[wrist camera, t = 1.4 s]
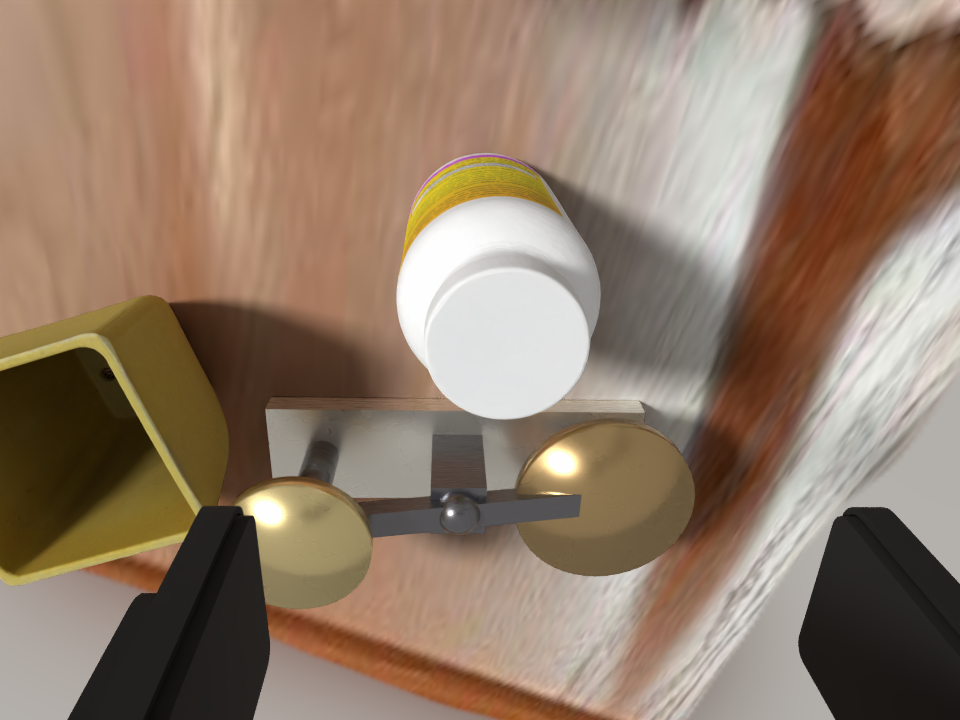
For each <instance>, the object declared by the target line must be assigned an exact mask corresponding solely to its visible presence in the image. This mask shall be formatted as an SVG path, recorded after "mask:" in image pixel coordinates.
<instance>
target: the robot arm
mask: <svg viewBox="0 0 960 720" xmlns="http://www.w3.org/2000/svg"><path fill="white" fill-rule="evenodd" d="M798 643H799V645H798V646H799V653H800V656H801V659H802V661H803V663H804V665H805V667H806V668H807V670H808V672H809V674H810V676H811V677H812V679H813V681H814V683H815V684H816V686H817V688H818V690H819V691H820V693H821V695H822V697H823V698H824V700H825V702H826V704H827V705H828V707H829V709H830V711H831V713H832V714H833V716H834V718H835V720H960V584H959V583H958V582H957V580H956V579H955V578H954V577H953V576H952V575H951V574H950V573H949V572H948V571H947V570H946V569H945V568H944V567H943V565H941V563H940V562H939V561H938V560H937V559H936V558H935V557H934V556H933V555H932V554H931V553H930V551H929V550H928V549H927V548H926V547H925V546H924V545H923V544H922V543H921V542H920V541H919V540H918V538H917V537H916V536H915V535H914V534H913V533H912V532H911V531H910V530H909V529H908V528H907V527H906V525H905V524H904V523H903V522H902V521H901V520H900V519H899V518H898V517H897V516H896V515H895V514H894V513H893V512H892V511H891V510H889V509H888V508H884V507H851V508H848V509H847V510H846V511H845V512H844V513H843V516H840V517H837V518H836V519H835V520H834V522H833V525H832V528H831V532H830V535H829V538H828V542H827V545H826V548H825V552H824V555H823V558H822V562H821V565H820V568H819V572H818V575H817V578H816V582H815V585H814V588H813V592H812V595H811V598H810V602H809V605H808V609H807V612H806V615H805V618H804V622H803V625H802V628H801V632H800V635H799V641H798ZM269 655H270V638H269V630H268V621H267V613H266V605H265V596H264V588H263V580H262V571H261V563H260V555H259V546H258V538H257V530H256V522H255V518H254V516H252V515H244V514H243V510H242V508H241V507H240V506H203V507H201V509H200V510H199V512H198V514H197V516H196V517H195V519H194V521H193V523H192V525H191V527H190V529H189V531H188V533H187V535H186V537H185V539H184V541H183V543H182V545H181V547H180V549H179V551H178V553H177V555H176V556H175V558H174V560H173V562H172V564H171V566H170V568H169V570H168V572H167V574H166V576H165V578H164V580H163V582H162V584H161V586H160V588H159V590H158V592H157V593H141V594H140V595H138V596H137V597H136V598H135V599H134V600H133V602H132V603H131V605H130V607H129V608H128V610H127V612H126V614H125V615H124V617H123V619H122V621H121V623H120V625H119V627H118V628H117V630H116V632H115V634H114V636H113V637H112V639H111V641H110V643H109V645H108V646H107V648H106V650H105V652H104V654H103V656H102V657H101V659H100V661H99V663H98V665H97V667H96V668H95V670H94V672H93V674H92V676H91V678H90V679H89V681H88V683H87V685H86V687H85V688H84V690H83V692H82V694H81V696H80V698H79V700H78V701H77V703H76V705H75V707H74V709H73V711H72V712H71V714H70V716H69V718H68V720H253V717H254V714H255V710H256V706H257V703H258V699H259V696H260V692H261V689H262V685H263V681H264V678H265V674H266V670H267V667H268V662H269Z"/></svg>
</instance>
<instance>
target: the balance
mask: <svg viewBox="0 0 960 720" xmlns="http://www.w3.org/2000/svg"><path fill="white" fill-rule="evenodd" d="M265 411H266V421H267V430H268V440H269V449H270V459H271V468H272V479H268V480H265V481H262V482H259V483H257V484H255V485H253V486H251V487H249V488H248V489H246V490H245V491H244V492H242V493H241V494H240V495H239V496H238V497H237V498H236V499H235V500H234V501H233V502H232V504H231V505H230V506H240V507H241V508H242V510H243V514H244V515H252V516H254V518H255V522H256V530H257V538H258V546H259V555H260V563H261V571H262V580H263V588H264V596H265V603H267V604H270V605H273V606H277V607H282V608H289V609H310V608H316V607H321V606H325V605H328V604H331V603H334V602H336V601H338V600H340V599H342V598H344V597H345V596H347V595H348V594H350V593H351V592H352V591H353V590H354V589H355V588H356V587H357V586H358V585H359V584H360V583H361V582H362V580H363V578H364V577H365V575H366V573H367V571H368V568H369V565H370V560H371V554H372V547H373V538H374V537H384V536H394V535H404V534H414V533H424V532H430V533H450V534H454V535H463V534H466V533H485V526H494V525H503V524H513V523H517V527H518V530H519V532H520V535H521V537H522V538H523V540H524V542H525V543H526V545H527V546H528V547H529V549H530V550H531V551H532V552H533V553H534V554H535V555H536V556H537V557H539V558H540V559H541V560H543V561H544V562H545V563H547V564H549V565H551V566H553V567H554V568H557V569H559V570H562V571H565V572H568V573H572V574H577V575H583V576H608V575H614V574H620V573H623V572H627V571H630V570H633V569H636V568H639V567H641V566H643V565H645V564H647V563H649V562H651V561H652V560H654V559H656V558H657V557H659V556H660V555H661V554H663V553H664V552H665V551H666V550H668V549H669V548H670V547H671V546H672V545H673V544H674V543H675V542H676V540H677V539H678V538H679V537H680V535H681V534H682V533H683V531H684V529H685V528H686V526H687V524H688V522H689V520H690V517H691V515H692V511H693V507H694V500H695V486H694V481H693V477H692V474H691V472H690V469H689V467H688V465H687V463H686V462H685V460H684V458H683V456H682V455H681V453H680V451H679V450H678V448H677V447H676V446H675V445H674V444H673V442H672V441H671V440H669V439H668V438H667V437H666V436H665V435H664V434H662V433H661V432H659V431H657V430H656V429H654V428H652V427H650V426H648V425H646V424H644V418H645V411H644V409H643V407H642V405H641V403H640V402H639V401H600V400H560V401H559V402H557V403H556V404H554V405H553V406H552V407H550V408H548V409H546V410H544V411H542V412H539V413H537V414H534V415H531V416H528V417H523V418H518V419H507V420H506V419H490V418H486V417H481V416H478V415H475V414H472V413H470V412H468V411H466V410H464V409H462V408H460V407H458V406H457V405H456V404H454V403H453V402H452V401H450V400H449V399H402V398H303V397H271V398H270V400H269V402H268V405H267V407H266V409H265ZM353 498H403V499H392V500H381V501H370V502H359V503H357V502H356V501H355V500H354V499H353Z"/></svg>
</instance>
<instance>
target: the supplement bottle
mask: <svg viewBox="0 0 960 720" xmlns="http://www.w3.org/2000/svg"><path fill="white" fill-rule="evenodd" d="M600 300H601V287H600V280H599V275H598V271H597V267H596V264H595V261H594V259H593V256H592V254H591V252H590V250H589V248H588V247H587V245H586V243H585V242H584V240H583V239H582V237H581V236H580V234H579V233H578V231H577V230H576V228H575V227H574V225H573V224H572V222H571V221H570V219H569V217H568V216H567V214H566V213H565V211H564V209H563V208H562V206H561V204H560V203H559V201H558V199H557V198H556V196H555V195H554V193H553V192H552V190H551V189H550V187H549V186H548V184H547V183H546V182H545V180H544V179H543V178H542V177H541V176H540V175H539V174H538V173H537V172H536V171H535V170H533V169H532V168H531V167H529V166H528V165H526V164H525V163H523V162H521V161H519V160H517V159H514V158H512V157H509V156H505V155H501V154H495V153H476V154H471V155H466V156H462V157H460V158H457V159H454V160H452V161H450V162H449V163H447V164H445V165H443V166H442V167H441V168H439V169H438V170H437V171H435V172H434V173H433V174H432V175H431V176H430V177H429V178H428V179H427V180H426V182H425V183H424V184H423V186H422V187H421V188H420V190H419V192H418V194H417V195H416V197H415V200H414V202H413V205H412V208H411V211H410V215H409V219H408V226H407V231H406V237H405V244H404V250H403V256H402V262H401V266H400V271H399V277H398V284H397V311H398V317H399V322H400V326H401V328H402V331H403V333H404V336H405V338H406V340H407V343H408V344H409V346H410V348H411V350H412V351H413V352H414V354H415V355H416V357H417V358H418V359H419V360H420V361H421V363H422V364H423V365H424V366H425V367H426V368H427V369H428V370H429V373H430V375H431V377H432V379H433V381H434V383H435V384H436V386H437V387H438V388H439V390H440V391H441V392H442V393H443V394H444V395H445V396H446V397H447V398H448V399H449V400H450V401H452V402H453V403H454V404H456V405H457V406H458V407H460V408H462V409H464V410H466V411H468V412H470V413H472V414H475V415H478V416H481V417H486V418H490V419H506V420H507V419H518V418H523V417H528V416H531V415H534V414H537V413H539V412H542V411H544V410H546V409H548V408H550V407H552V406H553V405H554V404H556V403H557V402H559V401H560V400H561V399H563V398H564V397H565V396H566V395H567V394H568V393H569V392H570V391H571V390H572V388H573V387H574V386H575V385H576V383H577V382H578V380H579V378H580V377H581V375H582V373H583V371H584V369H585V367H586V363H587V360H588V356H589V351H590V339H591V337H592V334H593V332H594V329H595V327H596V324H597V320H598V316H599V310H600Z"/></svg>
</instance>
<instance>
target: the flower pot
mask: <svg viewBox="0 0 960 720" xmlns="http://www.w3.org/2000/svg"><path fill="white" fill-rule="evenodd" d="M105 368H108V369H111V370H112V371H113V373H114V375H115V377H114V378H107V377H105V376H104V374H103V370H104V369H105ZM228 457H229V434H228V428H227V423H226V420H225V416H224V414H223V411H222V408H221V406H220V403H219V401H218V399H217V396H216V394H215V392H214V390H213V388H212V386H211V384H210V382H209V380H208V378H207V376H206V374H205V372H204V371H203V369H202V367H201V365H200V363H199V361H198V359H197V357H196V355H195V354H194V351H193V350H192V348H191V346H190V344H189V342H188V340H187V338H186V336H185V334H184V332H183V330H182V328H181V326H180V324H179V322H178V320H177V318H176V316H175V314H174V312H173V311H172V309H171V307H170V306H169V305H168V303H167V302H166V301H165V300H164V299H162V298H160V297H157V296H152V295H147V296H141V297H137V298H134V299H131V300H127V301H124V302H121V303H118V304H115V305H112V306H108V307H105V308H102V309H99V310H95V311H92V312H89V313H85V314H82V315H79V316H75V317H72V318H69V319H65V320H62V321H58V322H55V323H52V324H48V325H45V326H41V327H38V328H34V329H31V330H27V331H23V332H19V333H16V334H12V335H8V336H5V337H1V338H0V578H1V579H2V580H3V581H4V582H5V583H6V584H7V585H9V586H20V585H24V584H28V583H32V582H35V581H39V580H43V579H46V578H50V577H54V576H58V575H61V574H65V573H68V572H71V571H75V570H78V569H82V568H85V567H89V566H93V565H97V564H101V563H105V562H108V561H112V560H116V559H119V558H124V557H128V556H131V555H135V554H138V553H142V552H146V551H150V550H154V549H159V548H163V547H166V546H170V545H173V544H177V543H181V542H183V541H184V539H185V537H186V535H187V533H188V531H189V529H190V527H191V525H192V523H193V521H194V519H195V517H196V516H197V514H198V512H199V510H200V509H201V507H203V506H218V501H219V497H220V493H221V490H222V486H223V481H224V477H225V472H226V468H227V462H228Z"/></svg>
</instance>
